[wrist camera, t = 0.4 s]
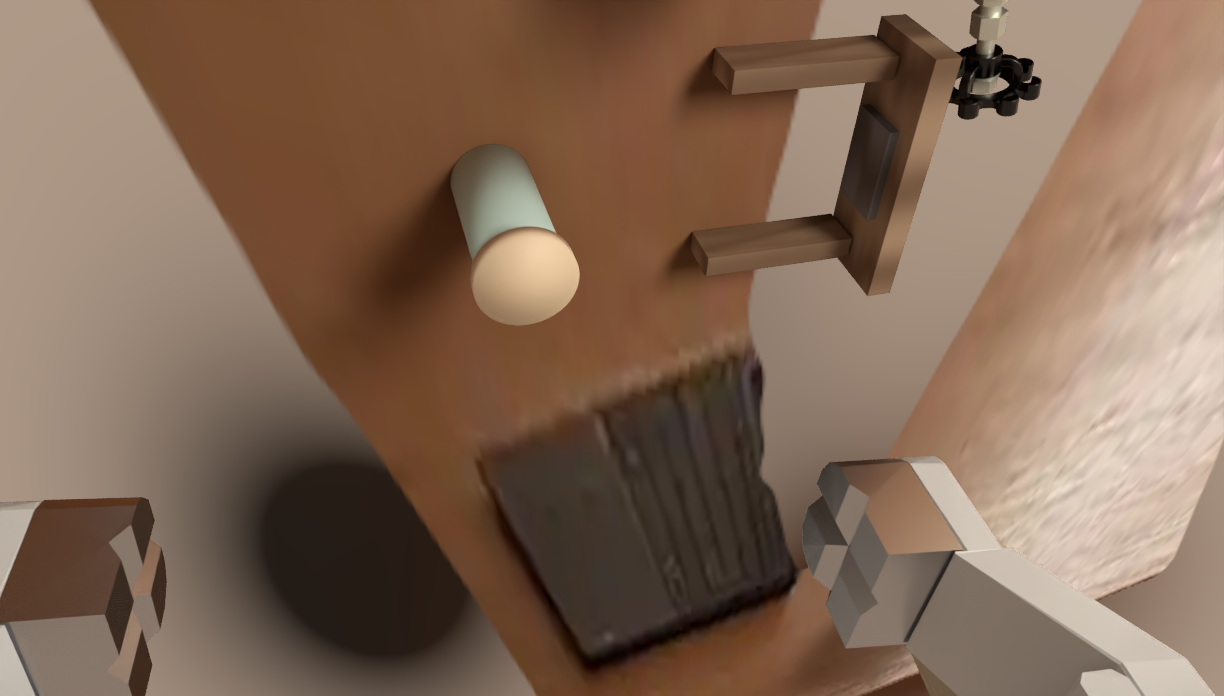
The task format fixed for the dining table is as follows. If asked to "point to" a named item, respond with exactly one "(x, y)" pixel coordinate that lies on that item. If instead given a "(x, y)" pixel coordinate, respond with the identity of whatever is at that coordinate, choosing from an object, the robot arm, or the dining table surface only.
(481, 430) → the dining table surface
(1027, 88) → the valve
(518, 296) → the grey-green capped cylinder
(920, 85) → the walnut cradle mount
